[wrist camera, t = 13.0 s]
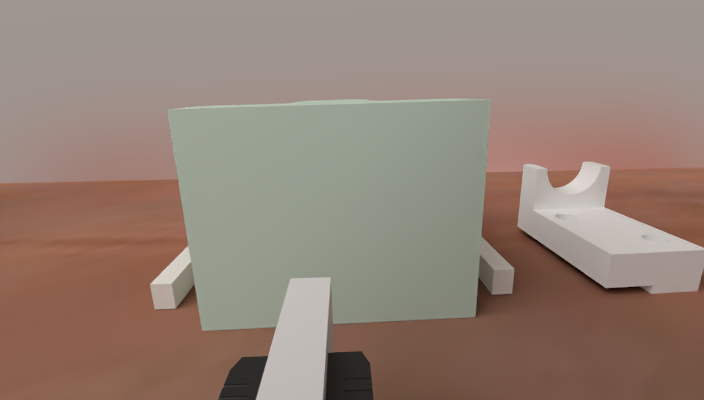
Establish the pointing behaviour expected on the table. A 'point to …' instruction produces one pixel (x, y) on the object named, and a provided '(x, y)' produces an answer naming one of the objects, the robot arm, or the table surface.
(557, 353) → the table surface
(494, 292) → the white u channel
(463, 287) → the t block
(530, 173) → the bracket
